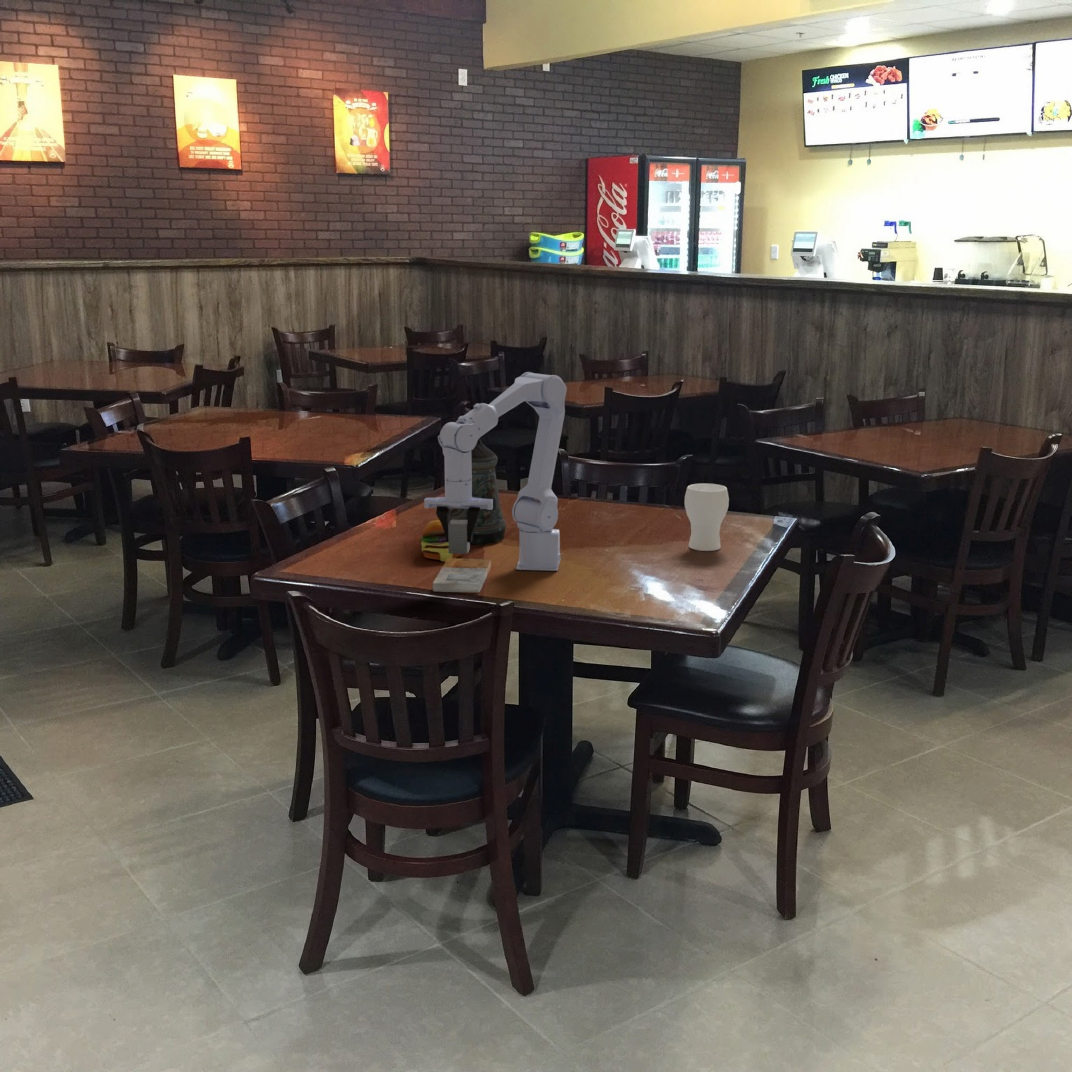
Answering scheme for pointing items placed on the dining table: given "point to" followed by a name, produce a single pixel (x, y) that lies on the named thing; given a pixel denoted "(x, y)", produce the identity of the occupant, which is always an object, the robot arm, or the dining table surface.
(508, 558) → the dining table surface
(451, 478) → the robot arm
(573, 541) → the dining table surface
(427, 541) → the cheeseburger
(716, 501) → the cup
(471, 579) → the grey flat rectangular block
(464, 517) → the beer stein
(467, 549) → the block
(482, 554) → the dining table surface
